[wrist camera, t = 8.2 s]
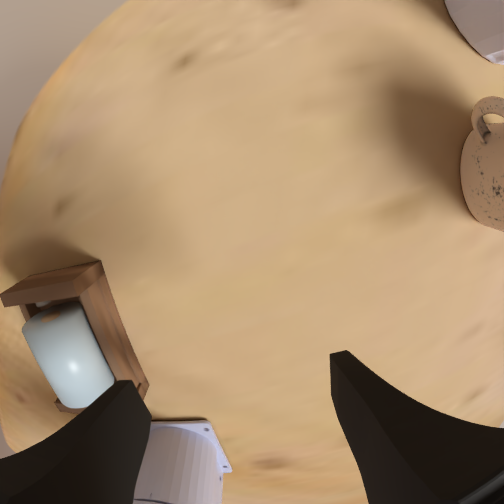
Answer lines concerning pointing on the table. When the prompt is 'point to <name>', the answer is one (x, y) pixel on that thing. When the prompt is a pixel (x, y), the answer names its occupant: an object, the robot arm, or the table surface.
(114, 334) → the holder
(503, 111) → the beige mug
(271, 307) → the table surface
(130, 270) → the table surface
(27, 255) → the table surface
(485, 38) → the soap bottle
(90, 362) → the roll
